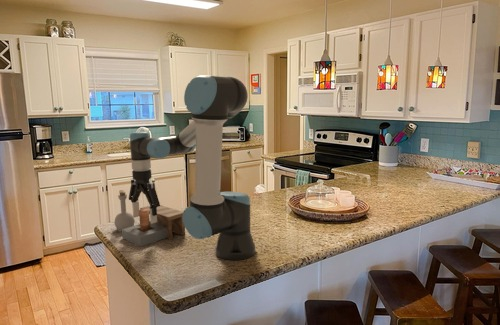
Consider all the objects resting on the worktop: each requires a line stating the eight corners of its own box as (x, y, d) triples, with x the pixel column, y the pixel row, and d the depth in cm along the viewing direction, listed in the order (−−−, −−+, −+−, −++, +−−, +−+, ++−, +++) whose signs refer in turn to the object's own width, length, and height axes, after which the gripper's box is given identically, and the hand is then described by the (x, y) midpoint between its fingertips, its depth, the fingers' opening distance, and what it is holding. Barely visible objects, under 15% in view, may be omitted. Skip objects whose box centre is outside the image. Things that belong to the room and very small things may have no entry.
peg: (152, 237, 156) (150, 209, 154) (144, 239, 153) (142, 212, 151) (147, 235, 159) (145, 208, 157) (139, 237, 156) (137, 210, 154)
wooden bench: (186, 234, 158) (184, 212, 157) (169, 240, 152) (168, 217, 151) (157, 224, 172) (156, 203, 171) (141, 229, 166) (140, 208, 164)
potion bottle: (128, 224, 173) (125, 187, 170) (138, 228, 167) (136, 190, 164) (110, 229, 166) (107, 191, 163) (121, 233, 161) (118, 194, 158)
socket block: (169, 236, 156) (169, 227, 156) (140, 246, 146) (140, 237, 145) (150, 229, 165) (150, 221, 165) (122, 238, 155) (121, 229, 154)
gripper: (167, 171, 146) (169, 223, 149) (133, 165, 162) (136, 212, 165) (150, 174, 140) (154, 228, 144) (117, 167, 156) (121, 216, 160)
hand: (144, 219), depth 154 cm, fingers open, 12 cm apart
